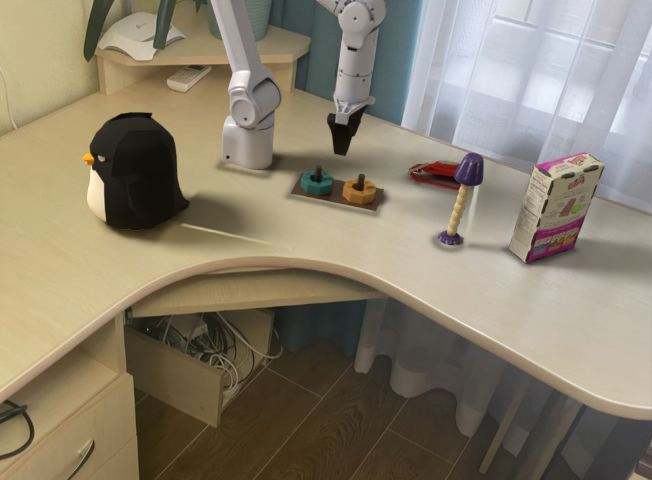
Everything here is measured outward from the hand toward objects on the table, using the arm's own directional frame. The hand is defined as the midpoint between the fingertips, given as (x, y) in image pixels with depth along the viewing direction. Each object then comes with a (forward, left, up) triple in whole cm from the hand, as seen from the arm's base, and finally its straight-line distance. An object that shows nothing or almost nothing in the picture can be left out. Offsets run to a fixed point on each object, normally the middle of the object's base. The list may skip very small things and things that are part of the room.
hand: (344, 144), depth 133 cm
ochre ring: (+4, -2, -9) cm, 10 cm away
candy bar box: (+37, -6, -10) cm, 39 cm away
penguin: (-31, -21, -10) cm, 38 cm away
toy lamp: (+22, -10, -10) cm, 26 cm away
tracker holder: (+17, +11, -10) cm, 23 cm away
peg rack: (0, -2, -10) cm, 10 cm away
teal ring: (-4, -2, -9) cm, 10 cm away
